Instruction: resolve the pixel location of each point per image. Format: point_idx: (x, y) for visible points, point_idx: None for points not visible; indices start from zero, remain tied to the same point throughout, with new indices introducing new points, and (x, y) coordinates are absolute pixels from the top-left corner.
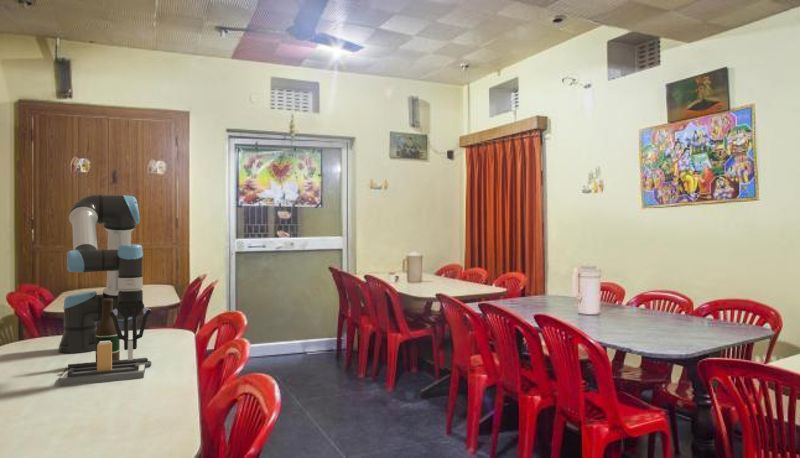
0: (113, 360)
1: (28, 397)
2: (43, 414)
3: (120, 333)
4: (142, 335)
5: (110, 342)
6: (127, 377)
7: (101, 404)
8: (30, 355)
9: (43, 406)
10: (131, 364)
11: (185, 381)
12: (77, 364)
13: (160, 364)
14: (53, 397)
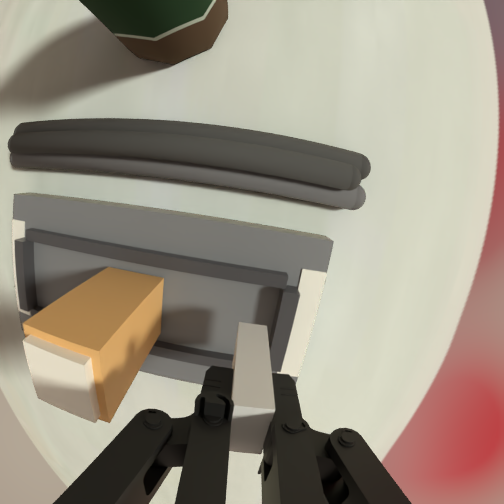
0: (191, 47)
1: (13, 377)
2: None
3: (152, 490)
4: (340, 478)
5: (91, 360)
6: None
7: (172, 499)
8: None
9: (69, 451)
10: (259, 280)
11: (376, 449)
12: (33, 149)
13: (401, 171)
14: (60, 415)
